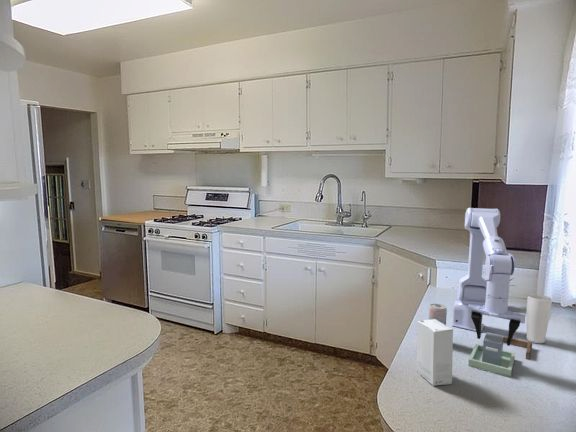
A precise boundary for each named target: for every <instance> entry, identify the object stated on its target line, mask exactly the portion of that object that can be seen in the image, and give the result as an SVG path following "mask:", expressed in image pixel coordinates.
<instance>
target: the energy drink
mask: <svg viewBox="0 0 576 432" xmlns="http://www.w3.org/2000/svg"><path fill="white" fill-rule="evenodd" d="M447 312H448V310H447V306H446V305H444V304H440V303H430V305H429V308H428V320H432V319H436V320H437V321H439V322H441V323H443V324H444V325H446V326H447Z"/></svg>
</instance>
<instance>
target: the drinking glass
mask: <svg viewBox="0 0 576 432" xmlns="http://www.w3.org/2000/svg"><path fill="white" fill-rule="evenodd" d="M525 308H526V310H525V311H526V314H525V315H526V334H525V336H526V337H525V338H526V340H527V341H528V342H532V343H534V344H544V343H545V342H546V337H547V332H548V325H549V321H550V316H551V310H552V298H551V297H549V296H546V295H544V294H543V295H542V294H538V293H531V294H528V295H527V299H526V307H525Z"/></svg>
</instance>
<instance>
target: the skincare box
mask: <svg viewBox="0 0 576 432" xmlns="http://www.w3.org/2000/svg"><path fill="white" fill-rule="evenodd" d="M416 332H417V334H416V335H417V337H416V339H417V340H416V342H417V343H416V345H417V346H416V372H417V371H418V372H419V373H420V374H421V375H422V376H421V375H420V374H419V373H418V372H417V373H418V374H419V375H420V376H421V377H422V378H424V380H426V381H427V382H428V383H430V384H431V386H435V387H436V386H442V385H452V383H453V352H454V351H453V345H454V344H453V342H454V340H453V339H454V328H451V327H450V326H449V325H447V324H446V325H444V324H443V323H441V322H439V321H437V320H436V319H432V320H429V319H424V320H417V331H416Z"/></svg>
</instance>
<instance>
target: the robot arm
mask: <svg viewBox="0 0 576 432" xmlns="http://www.w3.org/2000/svg"><path fill="white" fill-rule="evenodd" d="M500 222H501V212H500V210H499V209H498V208H483V207H480V208H479V207H478V208H477V207H475V208H474V207H468V208H466V211H465V215H464V229H465V230H467V231H468V232H469V236H470V237H469V249H468V262H467V274H466V275H464V276H463V277H460V278H459V280H458V283H457V286H456V287H457V288H456V295H457V296H456V297H457V299H455V301H454V304H453V315H452V318H453V319H452V326H453V327H456V328H460V329H465V330H469V331H473V332H476V338H477V339H478V340H480V339H481V336H482V331H483V328H484V327H485V324H484V323H483V315H484V316H487V317H488V316H489V317H493V318H499V319H503V320H508V321H509V323H508V336H507V337H508V340H507V344H506V346H508V347H510V346H511V344H510V342H511V339H512V338H514V335H515V333H516V331H517V330H518V329H519V327H520V324H525V323H526V314H522V313H519V312H514V311H512V310H508V308H509V295H510V286H511V284H510V282H511V281H510V280H511V276H513V275H514V272H515V267H516V266H515V265H516V262H515V257H514V255H512V254H511V253H510V252H508V251H507V248H506V245H505V242H504V239H503V238H502V237H500V236H499V235H498V229H497V228H498V227H499V225H500ZM484 255H485V262H484ZM484 263H485V265H484ZM484 266H485V273H486V274H485V278H484V277H483V267H484ZM486 280H487V281H486Z"/></svg>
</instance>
